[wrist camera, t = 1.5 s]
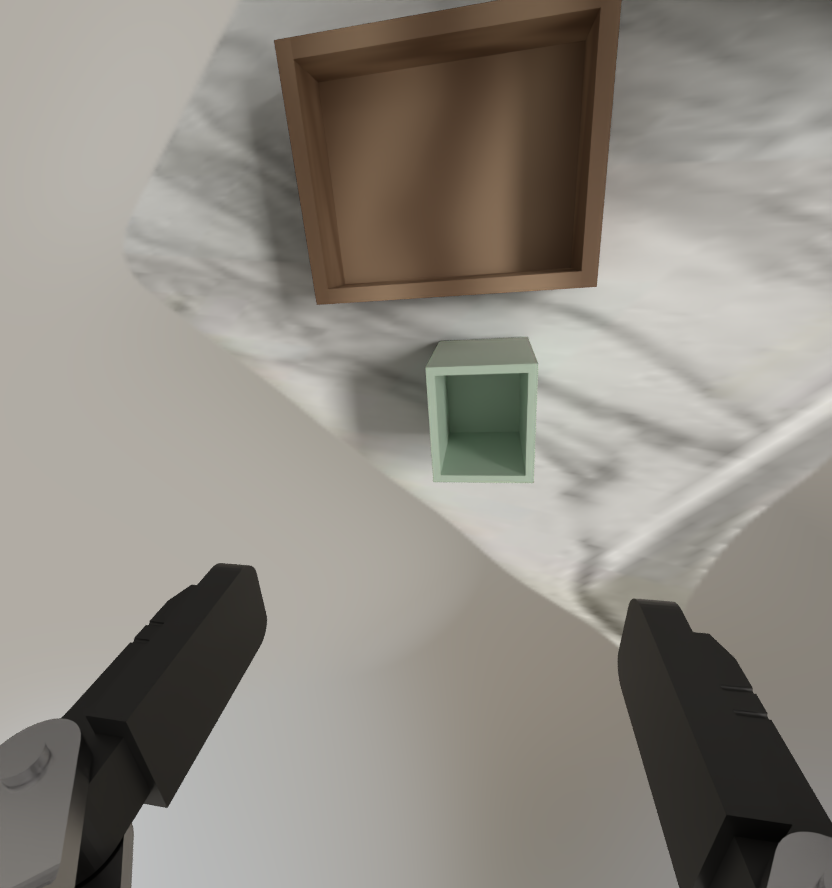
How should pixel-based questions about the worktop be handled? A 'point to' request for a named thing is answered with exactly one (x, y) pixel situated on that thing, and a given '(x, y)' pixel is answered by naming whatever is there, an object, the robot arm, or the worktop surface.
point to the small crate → (482, 410)
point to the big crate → (453, 148)
